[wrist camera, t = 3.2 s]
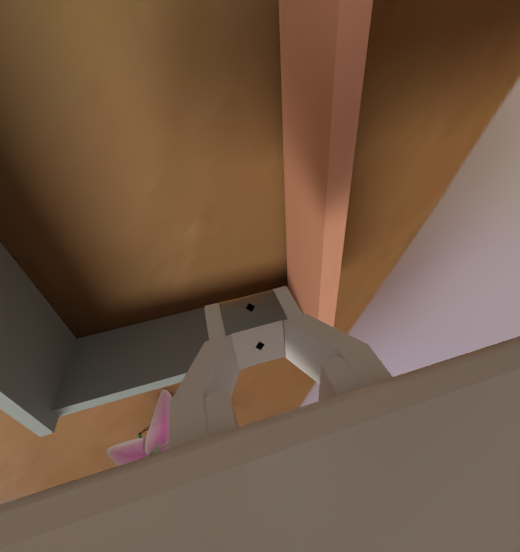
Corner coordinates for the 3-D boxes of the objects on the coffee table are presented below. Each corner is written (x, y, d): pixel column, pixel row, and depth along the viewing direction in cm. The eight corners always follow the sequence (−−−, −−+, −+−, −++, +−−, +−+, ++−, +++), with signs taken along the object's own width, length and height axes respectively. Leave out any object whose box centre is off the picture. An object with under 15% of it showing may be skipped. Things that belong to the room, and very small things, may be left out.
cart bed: (-238, -25, 9) (-791, -154, 4) (298, -49, 12) (398, -142, 7) (70, 347, 22) (39, 436, 17) (298, 290, 25) (333, 350, 20)
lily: (208, 425, 38) (243, 479, 30) (122, 492, 32) (137, 579, 24) (174, 357, 33) (205, 399, 25) (68, 422, 28) (65, 500, 20)
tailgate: (278, -16, 12) (343, -67, 8) (303, -18, 13) (381, -69, 8) (287, 288, 24) (316, 340, 19) (300, 285, 24) (332, 336, 19)
